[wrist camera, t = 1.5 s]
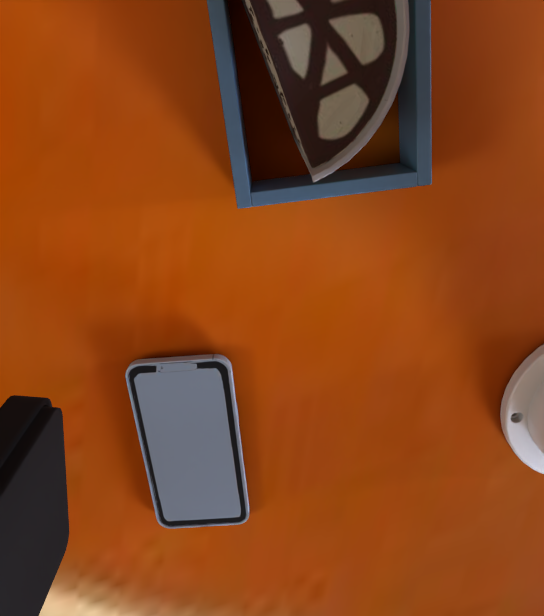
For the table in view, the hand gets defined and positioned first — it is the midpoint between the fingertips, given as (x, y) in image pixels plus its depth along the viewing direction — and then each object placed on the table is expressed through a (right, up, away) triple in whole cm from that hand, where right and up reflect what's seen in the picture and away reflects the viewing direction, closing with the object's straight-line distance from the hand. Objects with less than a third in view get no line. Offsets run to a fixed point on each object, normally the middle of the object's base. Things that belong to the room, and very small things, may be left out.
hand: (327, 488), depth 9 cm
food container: (+1, +18, +20) cm, 27 cm away
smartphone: (-7, -7, +30) cm, 32 cm away
